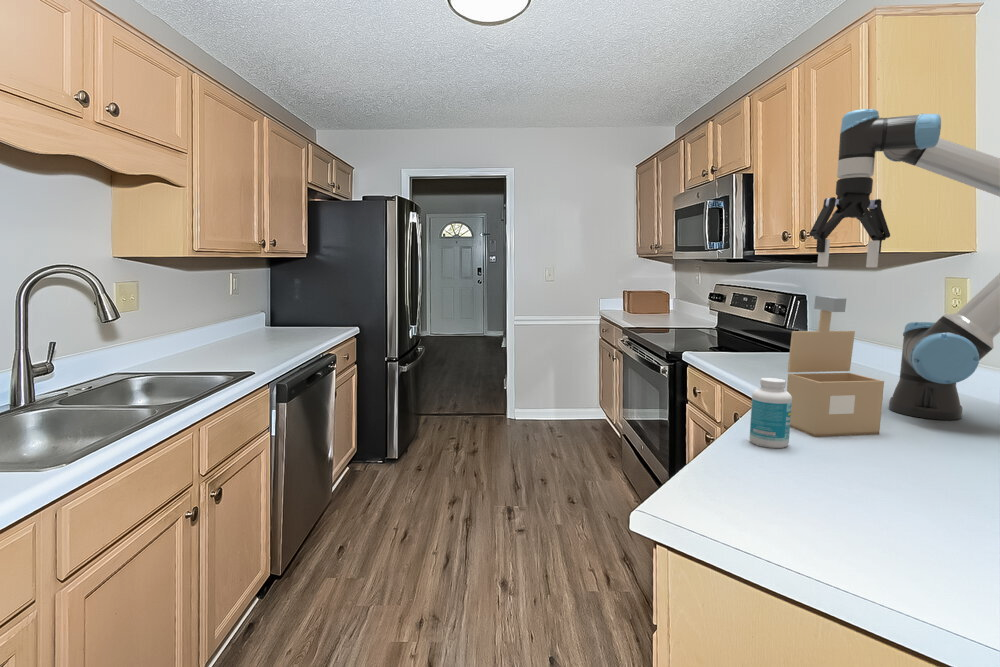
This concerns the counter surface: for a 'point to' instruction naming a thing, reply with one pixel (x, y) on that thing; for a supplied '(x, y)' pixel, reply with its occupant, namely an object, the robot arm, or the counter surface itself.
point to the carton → (835, 404)
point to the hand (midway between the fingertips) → (847, 267)
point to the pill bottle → (771, 414)
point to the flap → (822, 342)
